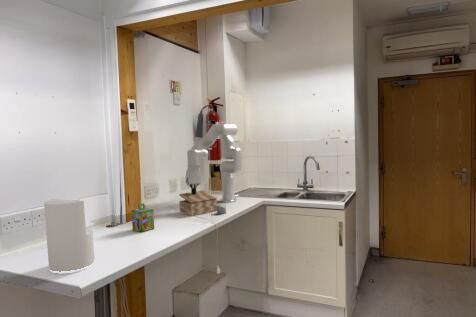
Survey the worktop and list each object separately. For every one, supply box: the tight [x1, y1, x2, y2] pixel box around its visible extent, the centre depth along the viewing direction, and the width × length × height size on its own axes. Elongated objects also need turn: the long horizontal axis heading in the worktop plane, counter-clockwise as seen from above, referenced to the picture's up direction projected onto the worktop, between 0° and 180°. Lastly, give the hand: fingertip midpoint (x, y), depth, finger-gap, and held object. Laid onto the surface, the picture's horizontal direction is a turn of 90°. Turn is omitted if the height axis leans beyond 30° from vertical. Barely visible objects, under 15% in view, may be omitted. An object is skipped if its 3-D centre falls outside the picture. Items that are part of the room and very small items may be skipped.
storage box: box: [178, 199, 218, 217], centre depth 241 cm, size 20×16×8 cm
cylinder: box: [43, 199, 96, 272], centre depth 145 cm, size 17×17×28 cm
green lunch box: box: [130, 203, 155, 233], centre depth 199 cm, size 9×9×15 cm
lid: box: [179, 190, 217, 204], centre depth 240 cm, size 20×16×1 cm
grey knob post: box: [216, 204, 227, 215], centre depth 234 cm, size 6×6×5 cm
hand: (193, 193), depth 242 cm, fingers closed
